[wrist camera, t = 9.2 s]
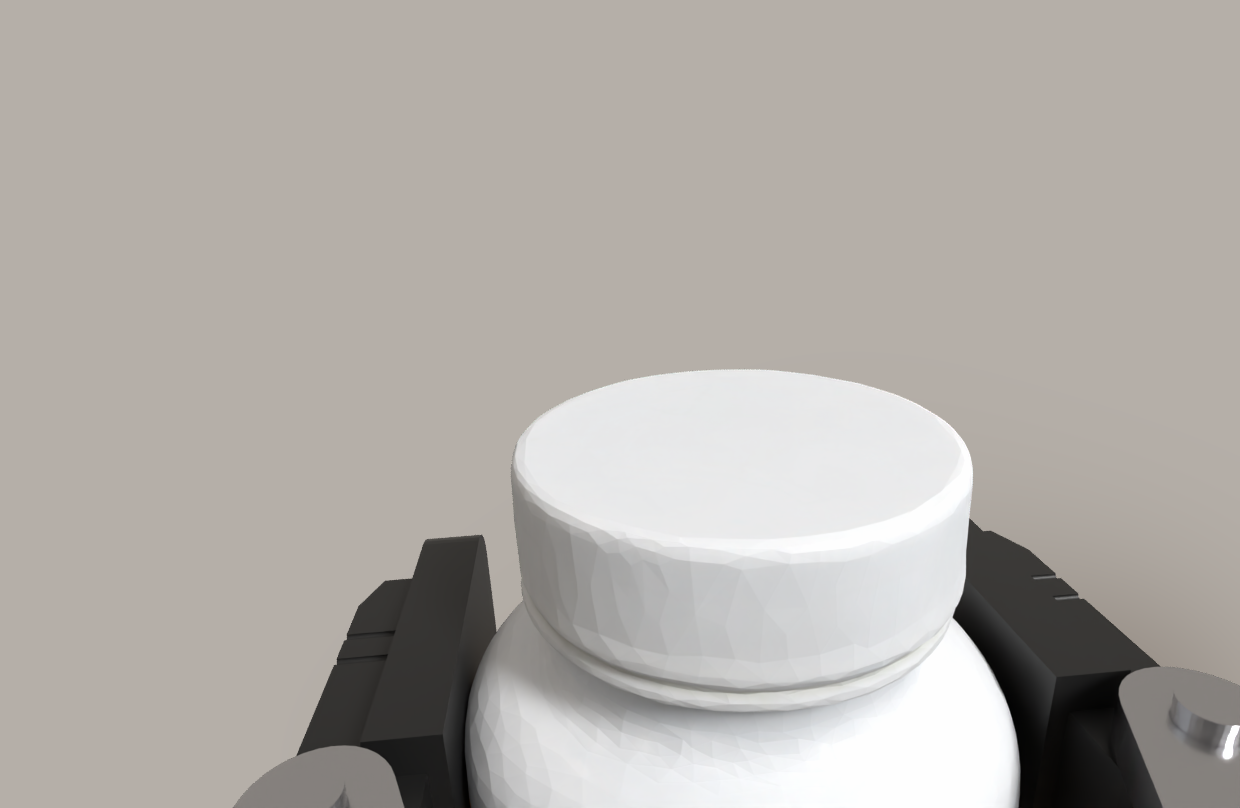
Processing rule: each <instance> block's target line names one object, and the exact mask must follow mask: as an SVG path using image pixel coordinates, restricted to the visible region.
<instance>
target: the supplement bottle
mask: <svg viewBox="0 0 1240 808" xmlns="http://www.w3.org/2000/svg"><path fill="white" fill-rule="evenodd" d="M511 483H512V495H513V507H514V522H515V530H516V538H517V546H518V554H519V563H520V571H521V577H522V581H521V587H522V595H523V601H522V602H521V603H520V604H519V605H518V606H517V607H516V608H515V610H514V611H513V612H512V613H511V614H510V616H509V617H508V618H507V619H506V621H505V622H504V623H503V624H502V625H501V627H500V628H499V630H498V631H497V633H496V634H495V636H494V637H493V639H492V640H491V642H490V644H489V645H488V647H487V649H486V651H485V653H484V655H483V658H482V660H481V662H480V664H479V666H478V669H477V672H476V675H475V678H474V681H473V684H472V687H471V691H470V695H469V700H468V708H467V715H466V723H465V759H466V770H467V780H468V792H469V802H470V808H1019V798H1020V759H1019V749H1018V743H1017V737H1016V731H1015V728H1014V724H1013V721H1012V717H1011V714H1010V710H1009V707H1008V704H1007V702H1006V699H1005V696H1004V694H1003V692H1002V690H1001V688H1000V686H999V683H998V681H997V679H996V677H995V675H994V673H993V671H992V669H991V667H990V666H989V664H988V663H987V661H986V659H985V658H984V656H983V655H982V653H981V652H980V650H979V649H978V648H977V646H976V645H975V644H974V642H973V641H972V640H971V638H970V637H969V636H968V635H967V634H966V632H965V631H964V630H963V629H962V627H961V626H960V625H959V624H958V623H957V622H956V621H955V620H954V619H953V618H952V617H953V614H954V611H955V608H956V607H957V605H958V603H959V601H960V598H961V596H962V594H963V588H964V583H965V577H966V547H967V537H968V526H969V515H970V505H971V495H972V485H973V467H972V462H971V457H970V453H969V451H968V449H967V447H966V445H965V443H964V441H963V440H962V439H961V438H960V436H959V435H958V434H957V432H956V431H955V430H954V429H953V428H952V427H951V426H950V425H948V424H947V422H945V421H944V420H943V419H941V418H940V417H938V416H937V415H935V414H934V413H932V412H930V411H929V410H927V409H925V408H923V407H922V406H920V405H918V404H916V403H914V402H911V401H910V400H908V399H905V398H903V397H900V396H898V395H895V394H892V393H890V392H886V391H883V390H880V389H877V388H873V387H870V386H866V385H862V384H860V383H855V382H850V381H844V380H838V379H833V378H828V377H823V376H817V375H810V374H802V373H793V372H785V371H775V370H704V371H691V372H690V371H689V372H680V373H679V372H678V373H670V374H661V375H655V376H649V377H643V378H637V379H632V380H627V381H623V382H619V383H616V384H612V385H608V386H605V387H602V388H599V389H596V390H592V391H589V392H587V393H584V394H582V395H579V396H577V397H574V398H572V399H569V400H567V401H565V402H563V403H561V404H560V405H558V406H556V407H554V408H552V409H550V410H549V411H547V412H545V413H544V414H543V415H541V416H540V417H538V418H537V419H536V420H535V421H534V422H533V423H532V424H531V425H530V426H529V427H528V428H527V429H526V431H524V432H523V434H522V435H521V437H520V439H519V440H518V442H517V444H516V446H515V449H514V452H513V458H512V464H511Z"/></svg>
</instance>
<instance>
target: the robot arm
mask: <svg viewBox="0 0 1240 808" xmlns="http://www.w3.org/2000/svg"><path fill="white" fill-rule="evenodd" d="M952 618H953V619H954V620H955V621H956V622H957V623H958V624H959V625H960V626H961V627H962V629H963V630H964V631H965V632H966V634H967V635H968V636H969V637H970V638H971V640H972V641H973V642H974V644H975V645H976V646H977V648H978V649H979V650H980V652H981V653H982V655H983V656H984V658H985V659H986V661H987V663H988V664H989V666H990V667H991V669H992V671H993V673H994V675H995V677H996V679H997V681H998V683H999V686H1000V688H1001V690H1002V692H1003V694H1004V696H1005V699H1006V702H1007V704H1008V707H1009V710H1010V714H1011V717H1012V721H1013V724H1014V728H1015V731H1016V737H1017V743H1018V749H1019V759H1020V798H1019V808H1240V686H1239V685H1237V684H1235V683H1232V682H1230V681H1228V680H1225V679H1222V678H1219V677H1216V676H1214V675H1210V674H1206V673H1203V672H1199V671H1194V670H1189V669H1184V668H1175V667H1160V666H1159V665H1158V664H1157V663H1156V662H1155V661H1154V660H1153V659H1152V658H1150V657H1149V656H1148V655H1147V654H1146V653H1145V652H1144V651H1142V650H1141V649H1140V648H1139V647H1138V646H1137V645H1136V644H1135V643H1133V642H1132V641H1131V640H1130V639H1129V638H1128V637H1127V636H1125V635H1124V634H1123V633H1122V632H1121V631H1120V630H1119V629H1118V628H1116V627H1115V626H1114V625H1113V624H1112V623H1111V622H1110V621H1109V620H1107V619H1106V618H1105V617H1104V616H1103V615H1102V614H1101V613H1100V612H1098V611H1097V610H1096V609H1095V608H1094V607H1093V606H1092V605H1090V604H1089V603H1088V602H1087V601H1086V600H1084V599H1079V597H1078V593H1077V592H1076V591H1075V590H1074V589H1072V588H1071V587H1070V586H1069V585H1068V584H1067V583H1066V582H1065V581H1063V580H1062V579H1061V578H1058V579H1057V578H1056V575H1055V573H1054V572H1053V571H1052V570H1051V569H1050V568H1049V567H1048V566H1046V565H1045V564H1044V563H1043V562H1042V561H1041V560H1040V559H1039V558H1037V557H1036V556H1035V555H1034V554H1033V553H1032V552H1031V551H1030V550H1028V549H1026V548H1024V547H1022V546H1020V545H1018V544H1016V543H1014V542H1012V541H1010V540H1008V539H1006V538H1004V537H1002V536H1000V535H998V534H996V533H994V532H992V531H982V530H981V529H980V528H979V527H978V526H977V525H976V524H975V523H974V522H973V521H972V520H971V519H969V526H968V537H967V547H966V577H965V583H964V588H963V594H962V596H961V598H960V601H959V603H958V605H957V607H956V608H955V611H954V614H953V617H952ZM496 633H497V632H496V624H495V616H494V608H493V599H492V591H491V584H490V575H489V567H488V559H487V551H486V545H485V541H484V537H483V536H482V535H474V536H461V537H449V538H438V539H427V540H425V542H424V544H423V547H422V550H421V553H420V557H419V559H418V563H417V566H416V569H415V572H414V575H413V578H412V579H401V580H390V581H385V582H383V583H382V584H381V585H380V586H379V587H378V588H377V589H376V590H375V591H374V592H373V593H372V594H371V595H370V596H369V597H368V598H367V599H366V600H365V601H364V602H363V603H362V604H360V605H359V606H358V609H357V611H356V614H355V616H354V619H353V621H352V623H351V626H350V628H349V631H348V633H347V640H345V641H344V643H343V645H342V648H341V650H340V652H339V655H338V657H337V665H334V667H333V669H332V671H331V674H330V676H329V679H328V681H327V684H326V686H325V688H324V691H323V693H322V696H321V698H320V700H319V703H318V706H317V708H316V710H315V713H314V715H313V717H312V720H311V722H310V725H309V727H308V729H307V732H306V734H305V737H304V739H303V742H302V744H301V746H300V748H299V751H298V753H297V756H296V757H293V758H291V759H289V760H287V761H285V762H283V763H282V764H280V765H278V766H276V767H275V768H273V769H272V770H270V771H269V772H267V773H266V774H264V775H263V776H262V777H261V778H260V779H259V780H257V781H256V782H255V783H254V784H253V785H252V786H251V787H250V788H249V789H248V790H247V791H246V792H245V793H244V794H243V795H242V796H241V798H240V799H239V800H238V802H237V803H236V805H235V806H234V807H233V808H470V802H469V792H468V780H467V770H466V759H465V723H466V715H467V708H468V700H469V695H470V691H471V687H472V684H473V681H474V678H475V675H476V672H477V669H478V666H479V664H480V662H481V660H482V658H483V655H484V653H485V651H486V649H487V647H488V645H489V644H490V642H491V640H492V639H493V637H494V636H495V634H496Z"/></svg>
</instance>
